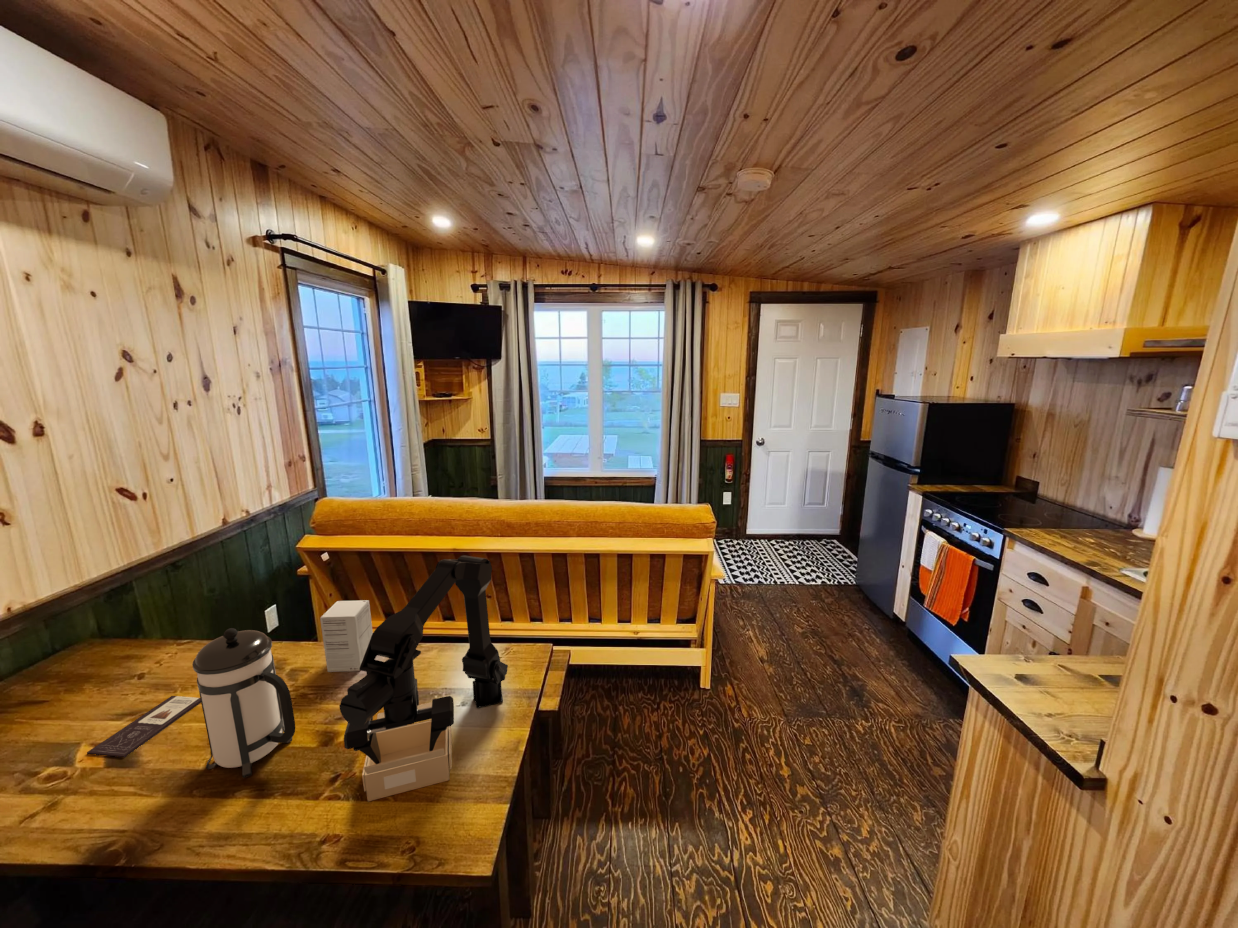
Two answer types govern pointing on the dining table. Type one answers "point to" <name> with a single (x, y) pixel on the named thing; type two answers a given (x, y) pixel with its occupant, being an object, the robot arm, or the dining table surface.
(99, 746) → the chocolate bar
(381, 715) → the tan cardboard box flap
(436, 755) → the flap camera side
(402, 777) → the carton
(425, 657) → the dining table surface
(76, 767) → the dining table surface
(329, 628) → the supplement box
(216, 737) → the coffee press
